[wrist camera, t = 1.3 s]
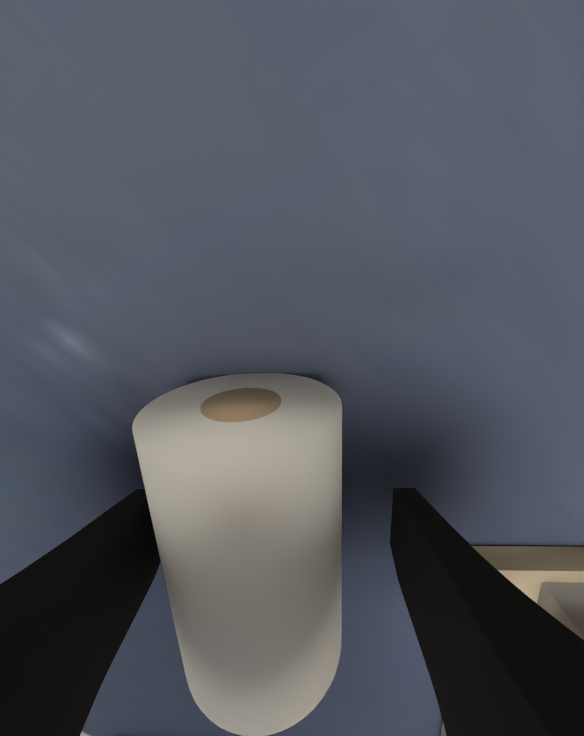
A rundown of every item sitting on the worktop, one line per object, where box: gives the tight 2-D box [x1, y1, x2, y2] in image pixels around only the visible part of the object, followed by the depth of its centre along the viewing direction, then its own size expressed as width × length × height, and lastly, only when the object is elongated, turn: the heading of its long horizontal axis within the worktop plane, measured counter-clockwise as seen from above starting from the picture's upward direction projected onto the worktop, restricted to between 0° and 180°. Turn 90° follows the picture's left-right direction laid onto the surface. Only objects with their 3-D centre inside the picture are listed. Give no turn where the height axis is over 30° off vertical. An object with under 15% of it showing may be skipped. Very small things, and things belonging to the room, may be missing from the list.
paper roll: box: [132, 373, 342, 736], centre depth 9 cm, size 8×5×5 cm, turn 2°
